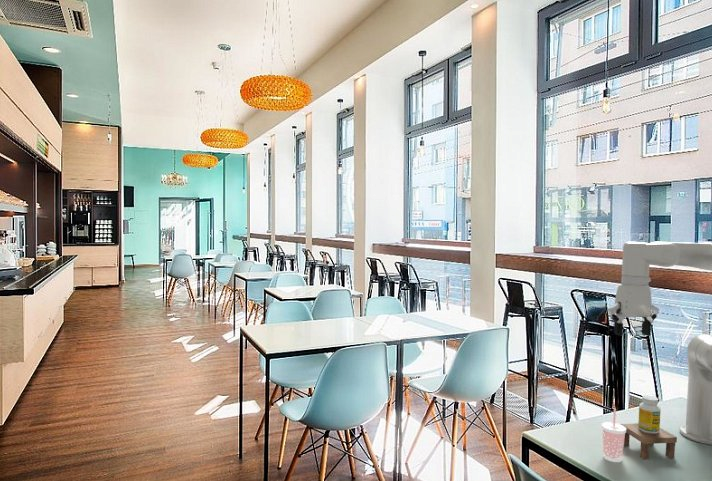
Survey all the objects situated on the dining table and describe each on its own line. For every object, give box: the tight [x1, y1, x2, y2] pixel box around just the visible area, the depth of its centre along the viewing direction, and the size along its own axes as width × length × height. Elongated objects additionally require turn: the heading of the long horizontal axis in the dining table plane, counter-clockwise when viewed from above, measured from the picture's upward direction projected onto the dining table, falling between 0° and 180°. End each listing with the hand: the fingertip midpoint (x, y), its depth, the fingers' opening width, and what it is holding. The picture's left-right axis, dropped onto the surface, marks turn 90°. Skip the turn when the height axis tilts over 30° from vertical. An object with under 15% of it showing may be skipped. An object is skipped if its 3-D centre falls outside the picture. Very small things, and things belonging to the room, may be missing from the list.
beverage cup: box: [601, 408, 626, 463], centre depth 141 cm, size 6×6×14 cm
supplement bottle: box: [637, 395, 661, 434], centre depth 146 cm, size 5×5×10 cm
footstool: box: [620, 423, 678, 460], centre depth 147 cm, size 10×10×6 cm
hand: (632, 334), depth 161 cm, fingers open, 9 cm apart
